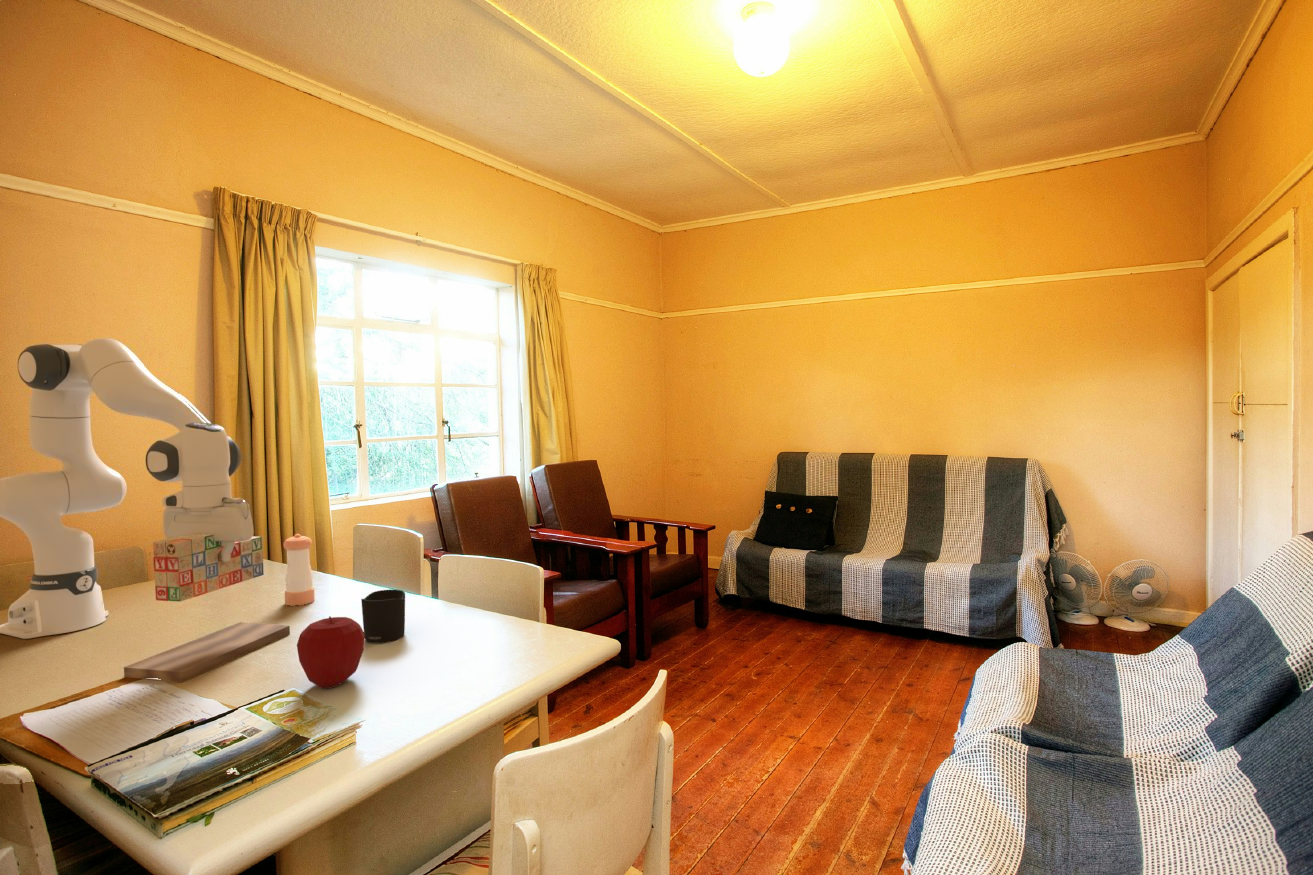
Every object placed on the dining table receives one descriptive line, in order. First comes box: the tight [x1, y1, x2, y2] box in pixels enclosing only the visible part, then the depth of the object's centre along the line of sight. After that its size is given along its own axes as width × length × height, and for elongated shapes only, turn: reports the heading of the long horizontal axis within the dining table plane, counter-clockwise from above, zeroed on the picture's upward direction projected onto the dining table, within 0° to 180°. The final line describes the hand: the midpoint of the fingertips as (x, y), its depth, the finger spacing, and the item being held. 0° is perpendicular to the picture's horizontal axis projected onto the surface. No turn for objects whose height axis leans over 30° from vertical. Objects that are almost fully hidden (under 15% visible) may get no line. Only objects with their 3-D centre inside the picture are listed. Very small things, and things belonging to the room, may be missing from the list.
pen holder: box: [361, 589, 406, 644], centre depth 152 cm, size 9×9×10 cm
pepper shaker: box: [282, 533, 315, 607], centre depth 181 cm, size 7×7×19 cm
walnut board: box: [123, 621, 291, 683], centre depth 143 cm, size 14×28×2 cm, turn 168°
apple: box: [296, 615, 365, 689], centre depth 126 cm, size 12×12×13 cm
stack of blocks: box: [152, 534, 265, 602], centre depth 142 cm, size 21×6×12 cm, turn 168°
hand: (210, 560), depth 142 cm, fingers closed on stack of blocks, 6 cm apart
